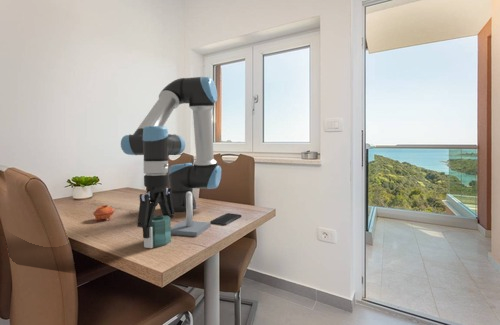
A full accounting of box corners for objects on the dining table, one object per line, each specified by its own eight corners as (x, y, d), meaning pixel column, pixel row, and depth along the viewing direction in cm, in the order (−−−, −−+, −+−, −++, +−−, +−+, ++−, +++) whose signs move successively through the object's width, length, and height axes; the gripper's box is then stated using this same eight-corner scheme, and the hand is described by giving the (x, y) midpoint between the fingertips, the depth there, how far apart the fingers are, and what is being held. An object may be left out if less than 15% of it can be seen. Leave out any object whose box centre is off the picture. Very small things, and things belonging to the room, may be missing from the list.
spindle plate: (183, 223, 102) (182, 188, 101) (210, 226, 99) (210, 189, 98) (166, 233, 90) (165, 193, 89) (196, 236, 87) (196, 195, 86)
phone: (242, 214, 113) (225, 223, 99) (242, 217, 113) (225, 226, 99) (227, 212, 116) (208, 221, 103) (227, 215, 116) (208, 224, 103)
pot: (120, 216, 111) (116, 203, 109) (105, 226, 104) (101, 211, 102) (106, 214, 114) (103, 201, 112) (91, 223, 107) (87, 209, 105)
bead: (155, 237, 87) (154, 214, 86) (174, 239, 85) (174, 216, 84) (140, 245, 79) (139, 220, 79) (161, 247, 77) (160, 222, 77)
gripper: (144, 178, 69) (146, 256, 70) (183, 171, 90) (184, 232, 91) (121, 177, 71) (124, 254, 72) (165, 170, 92) (166, 230, 93)
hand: (157, 241), depth 82 cm, fingers open, 9 cm apart
